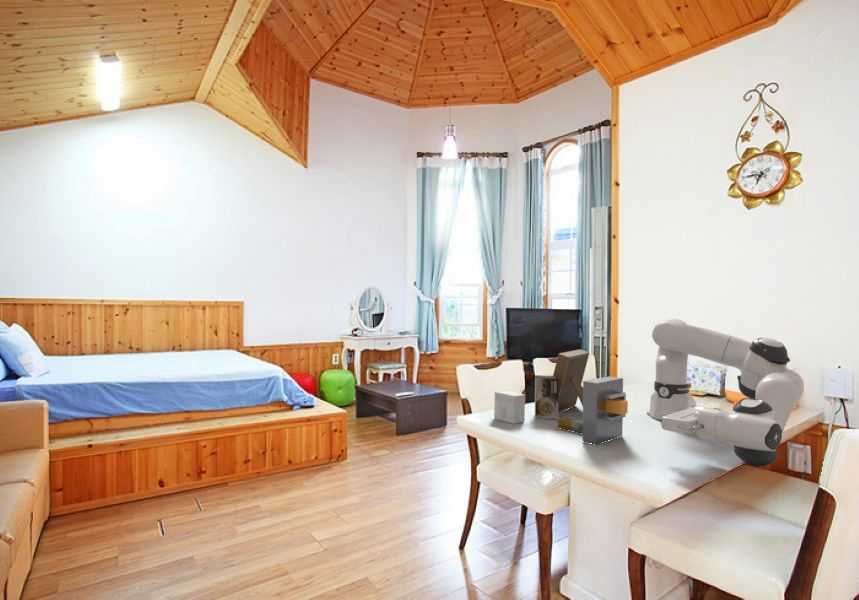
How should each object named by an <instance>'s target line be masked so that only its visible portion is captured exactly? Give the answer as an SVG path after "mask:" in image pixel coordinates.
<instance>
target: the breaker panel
mask: <svg viewBox="0 0 859 600" xmlns="http://www.w3.org/2000/svg"><path fill="white" fill-rule="evenodd" d="M582 383H583V384H582V387H583V406H582V422H583V434H582V442H583V441H584V442H583V443H585V442H588V443H587V444H589V443H592V444H595V445H594V446H598V445H597V444H599V445H601V444H600V443H602V442H605V441H608V440H611V439H614V438H617V437H620V436H622V437H623V421H624V420H623V418H626V415H627V413H625V414H622V415H620V414H615V413H610V412H606V411H605V399H607V398H608V399H614V398H616V399H621V400H627V393H626V391H625V392H624V378H623V377H619V376H618V377H617V376H610V375H609V376H605V377H604V376H603V377H598V378H593V379H587V380H582ZM620 438H621V437H620ZM617 439H618V438H617ZM614 440H615V439H614ZM611 441H612V440H611ZM608 442H609V441H608ZM605 443H606V442H605ZM592 444H591V445H592ZM602 444H603V443H602Z"/></svg>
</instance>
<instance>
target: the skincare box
mask: <svg viewBox="0 0 859 600" xmlns="http://www.w3.org/2000/svg"><path fill="white" fill-rule="evenodd" d="M525 405H526V394H523V393H518V392H513V391H509V390H508V391H507V390H502V391H501V390H500V391H494V410H493V411H494V413H493V415H494V416H493V419H494V418H495V419H494V420H497V421H498V420H499V421H502V422H505V423H509V424H513V425H515V424H520V423H524V422H525V416H526V415H525V414H526V413H525V411H526V409H525V408H526V407H525Z"/></svg>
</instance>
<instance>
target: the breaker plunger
mask: <svg viewBox="0 0 859 600" xmlns="http://www.w3.org/2000/svg"><path fill="white" fill-rule="evenodd" d="M628 409H629V408H628V400H627V399H626V400H621V399H616V398H614V399H608V398H607V399H605V411H606V412H610V413H615V414H620V415H622V414H625V413H626V414H628V413H629V411H628Z"/></svg>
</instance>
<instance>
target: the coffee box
mask: <svg viewBox="0 0 859 600" xmlns="http://www.w3.org/2000/svg"><path fill="white" fill-rule="evenodd" d="M559 415H560V413H559V378H558V376H553V375H542V374H541V375H536V374H535V375H534V418H535V419H536V418H538V419H540V420H558V418H560V416H559Z"/></svg>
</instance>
